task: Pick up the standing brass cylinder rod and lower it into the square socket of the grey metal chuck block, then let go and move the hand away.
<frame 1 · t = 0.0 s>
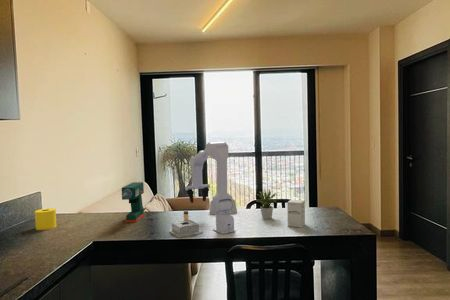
hand: (198, 201, 196), 10 cm above the worktop, tool pointing down, fingers open, 7 cm apart
house plant: (267, 219, 193), on the worktop
chuck block: (185, 232, 171), on the worktop
power tool: (132, 221, 198), on the worktop
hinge: (223, 213, 212), on the worktop
supplement box: (296, 225, 178), on the worktop
brass cylinder rod: (186, 226, 182), on the worktop
yellow holed block: (46, 227, 189), on the worktop
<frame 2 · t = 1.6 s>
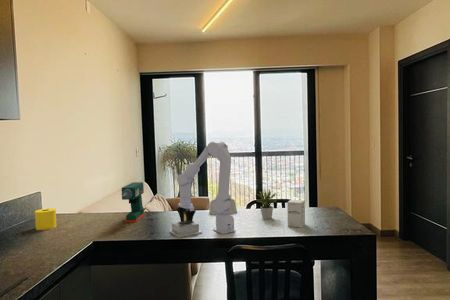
hand: (186, 222, 182), 2 cm above the worktop, tool pointing down, fingers open, 7 cm apart
nothing on the worktop moved.
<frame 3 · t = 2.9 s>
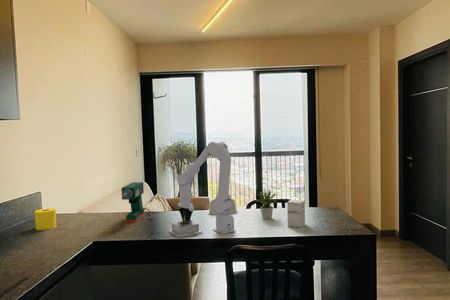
hand: (186, 222, 182), 2 cm above the worktop, tool pointing down, fingers closed on brass cylinder rod, 2 cm apart
brass cylinder rod: (186, 226, 182), on the worktop, touching gripper
everything else where it was.
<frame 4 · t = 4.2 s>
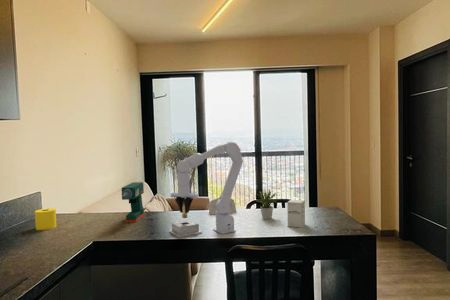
hand: (184, 212, 170), 10 cm above the worktop, tool pointing down, fingers closed on brass cylinder rod, 2 cm apart
brass cylinder rod: (184, 217, 170), point 7 cm above the worktop, touching gripper
everything else where it was.
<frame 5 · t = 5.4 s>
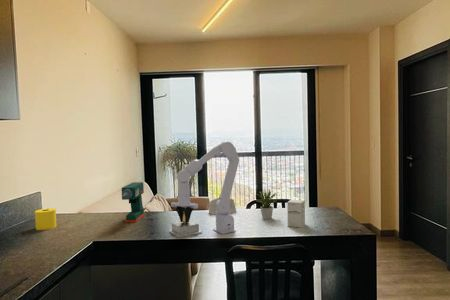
hand: (184, 222, 170), 5 cm above the worktop, tool pointing down, fingers closed on brass cylinder rod, 2 cm apart
brass cylinder rod: (185, 227, 170), point 3 cm above the worktop, touching gripper
everything else where it was.
when the fingers open (5 cm above the worktop, at t = 6.0 s): brass cylinder rod drops 2 cm, resting on chuck block.
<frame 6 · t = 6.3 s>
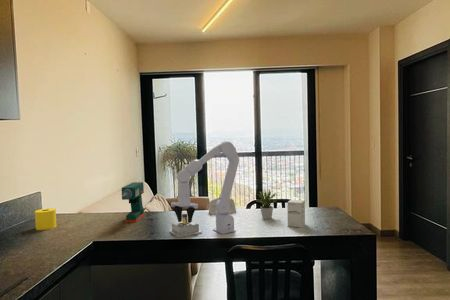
hand: (184, 222, 170), 5 cm above the worktop, tool pointing down, fingers open, 5 cm apart
brass cylinder rod: (185, 230, 171), point 1 cm above the worktop, touching chuck block
everything else where it was.
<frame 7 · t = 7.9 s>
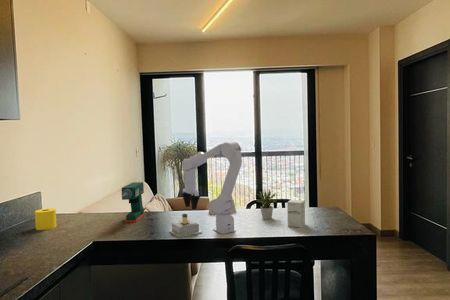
hand: (190, 207, 181), 10 cm above the worktop, tool pointing down, fingers open, 7 cm apart
nothing on the worktop moved.
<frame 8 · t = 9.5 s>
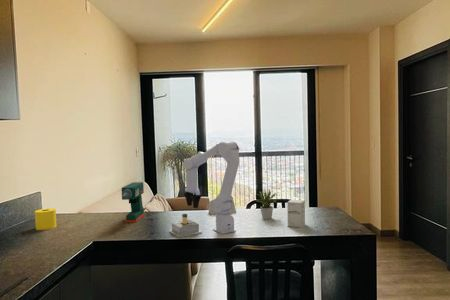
hand: (192, 206, 183), 10 cm above the worktop, tool pointing down, fingers open, 7 cm apart
nothing on the worktop moved.
at the end: brass cylinder rod 0.1 cm off-centre on the chuck block, point 1.0 cm above the chuck block's base; brass cylinder rod tilted 0°; the gripper is holding nothing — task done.
